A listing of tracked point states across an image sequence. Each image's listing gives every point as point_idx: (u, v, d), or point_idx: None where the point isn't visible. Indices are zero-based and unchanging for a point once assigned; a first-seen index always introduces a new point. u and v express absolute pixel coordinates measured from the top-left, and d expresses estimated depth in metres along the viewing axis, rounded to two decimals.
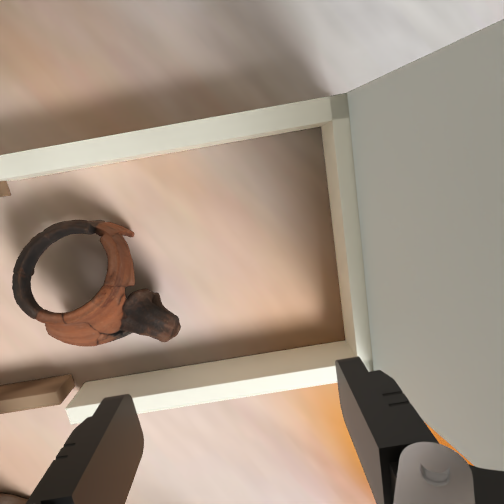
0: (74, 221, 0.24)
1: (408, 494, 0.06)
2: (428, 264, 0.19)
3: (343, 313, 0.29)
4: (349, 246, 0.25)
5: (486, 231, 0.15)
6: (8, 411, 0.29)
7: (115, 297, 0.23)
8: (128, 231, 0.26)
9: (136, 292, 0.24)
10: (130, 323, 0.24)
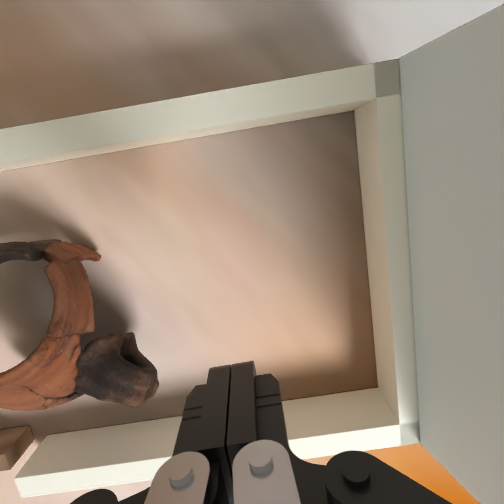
0: (12, 244, 0.17)
1: (245, 497, 0.06)
2: None
3: (377, 354, 0.23)
4: (394, 273, 0.18)
5: None
6: None
7: (65, 350, 0.17)
8: (91, 254, 0.20)
9: (96, 341, 0.17)
10: (87, 384, 0.17)
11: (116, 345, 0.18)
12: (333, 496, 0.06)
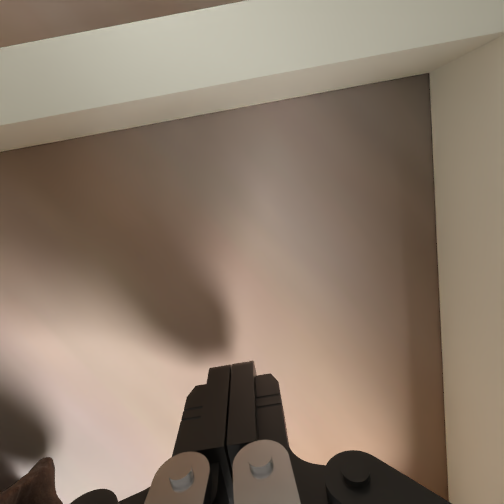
0: None
1: (245, 497, 0.06)
2: None
3: (452, 471, 0.14)
4: None
5: None
6: None
7: None
8: None
9: None
10: None
11: None
12: (333, 496, 0.06)
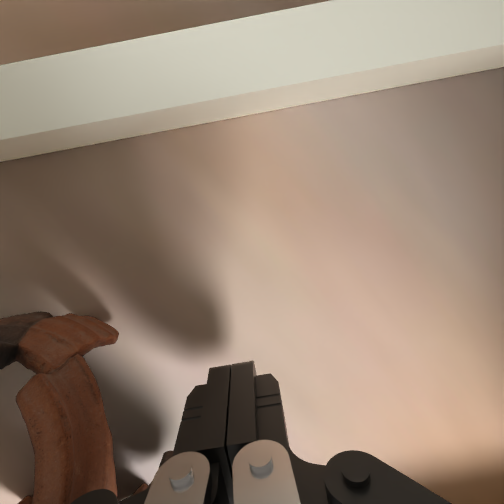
0: None
1: (244, 497, 0.06)
2: None
3: None
4: None
5: None
6: None
7: None
8: (103, 336, 0.11)
9: None
10: None
11: None
12: (333, 496, 0.06)
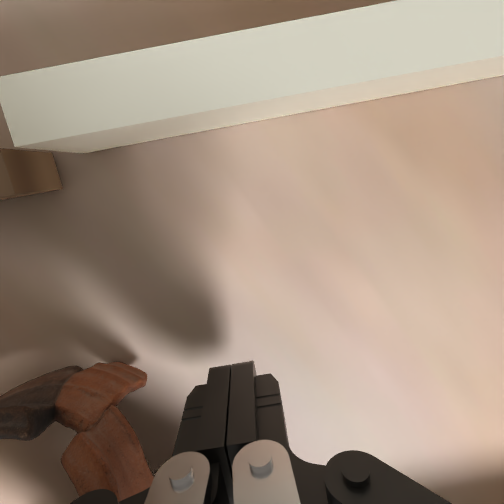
0: None
1: (245, 497, 0.06)
2: None
3: None
4: None
5: None
6: None
7: None
8: (133, 382, 0.12)
9: None
10: None
11: None
12: (333, 496, 0.06)
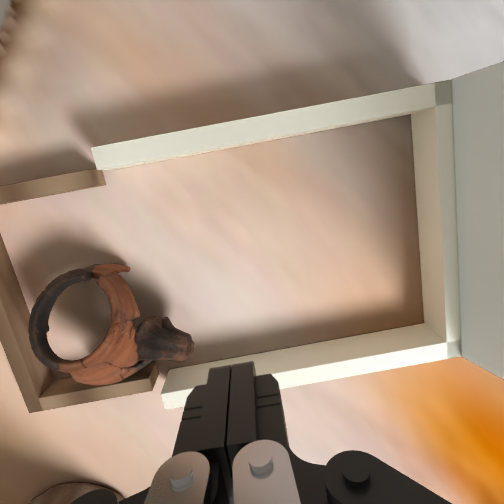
0: (70, 272, 0.25)
1: (245, 497, 0.06)
2: None
3: (424, 296, 0.30)
4: (445, 229, 0.25)
5: None
6: (100, 398, 0.29)
7: (125, 332, 0.24)
8: (123, 267, 0.27)
9: (143, 322, 0.25)
10: (146, 352, 0.25)
11: (157, 323, 0.26)
12: (333, 496, 0.06)
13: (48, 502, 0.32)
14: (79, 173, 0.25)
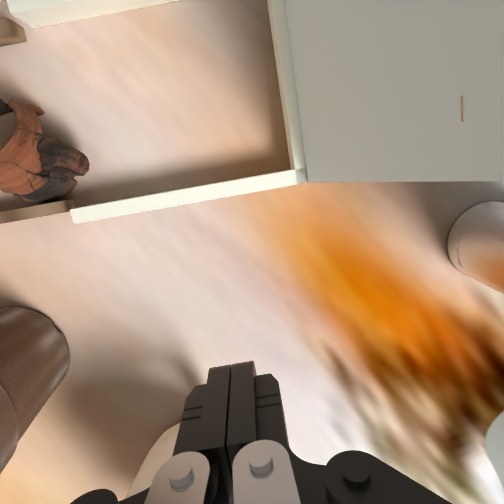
0: None
1: (245, 497, 0.06)
2: (324, 41, 0.27)
3: (287, 143, 0.37)
4: (284, 68, 0.33)
5: None
6: (24, 218, 0.36)
7: (28, 140, 0.32)
8: None
9: (45, 137, 0.32)
10: (46, 159, 0.32)
11: (58, 143, 0.33)
12: (333, 496, 0.06)
13: None
14: None
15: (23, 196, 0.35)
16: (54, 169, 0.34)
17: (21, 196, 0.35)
